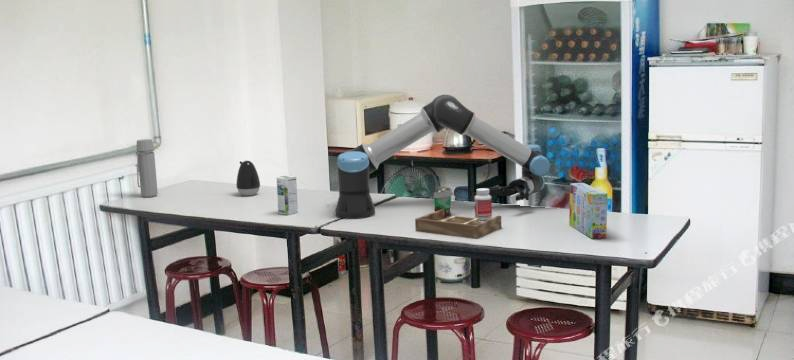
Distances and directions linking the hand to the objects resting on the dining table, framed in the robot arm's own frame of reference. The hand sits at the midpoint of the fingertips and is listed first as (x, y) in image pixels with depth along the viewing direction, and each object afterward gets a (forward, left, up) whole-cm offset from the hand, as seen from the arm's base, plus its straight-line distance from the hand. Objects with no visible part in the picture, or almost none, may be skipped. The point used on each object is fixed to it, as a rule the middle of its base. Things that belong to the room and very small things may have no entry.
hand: (494, 198), depth 314 cm
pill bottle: (+5, -6, -7) cm, 10 cm away
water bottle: (-85, -134, -7) cm, 158 cm away
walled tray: (+17, -18, -6) cm, 26 cm away
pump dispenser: (-73, -90, -7) cm, 116 cm away
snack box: (+34, +22, -7) cm, 41 cm away
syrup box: (-29, -75, -7) cm, 80 cm away
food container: (-5, -18, -7) cm, 19 cm away
